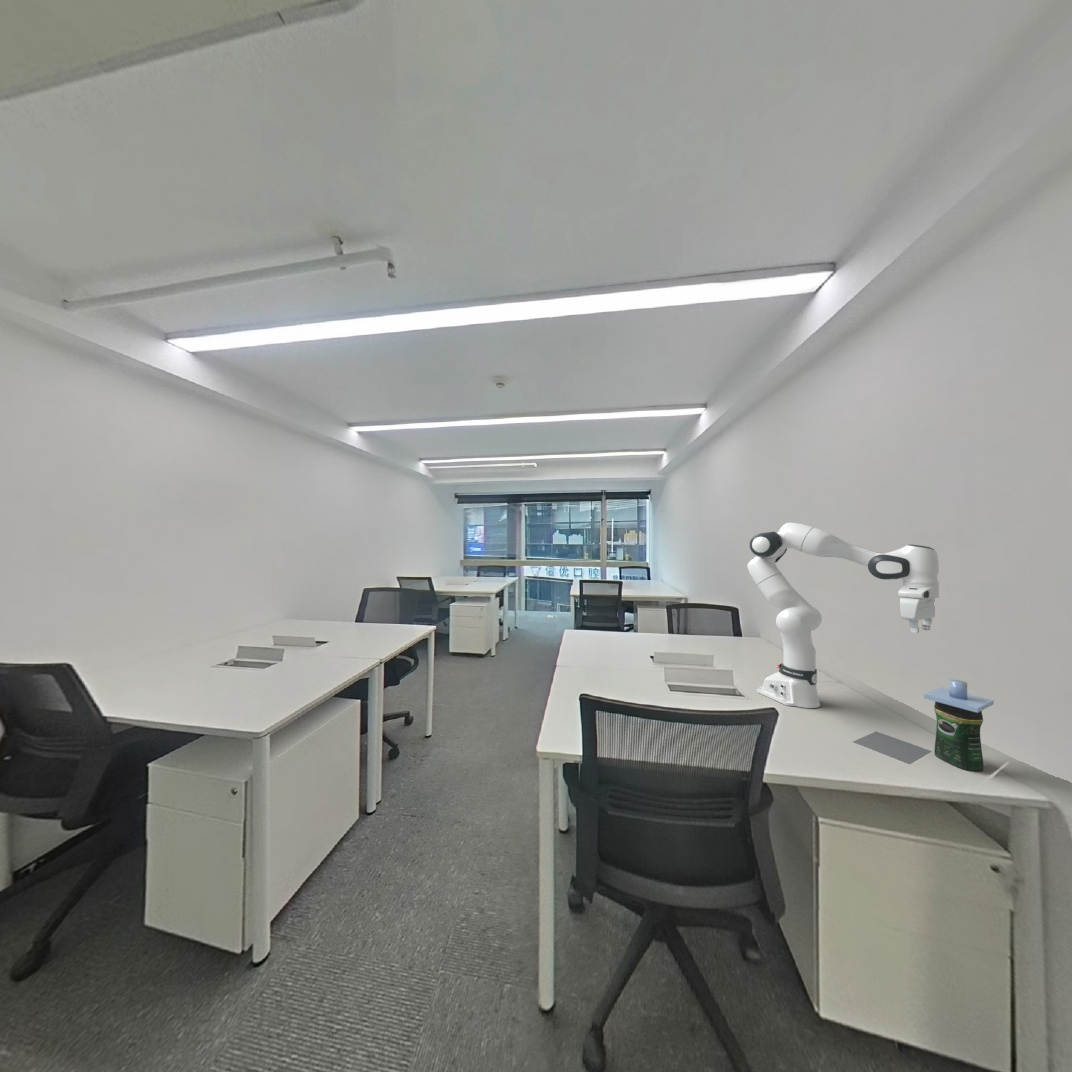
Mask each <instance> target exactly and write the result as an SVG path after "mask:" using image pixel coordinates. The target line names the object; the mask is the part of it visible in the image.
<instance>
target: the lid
mask: <svg viewBox="0 0 1072 1072" xmlns="http://www.w3.org/2000/svg"><path fill="white" fill-rule="evenodd" d="M948 682H949V685H948V686H949V687H948V688H945V687H939V688H936V689H934V690H931V691H928V692H926V693H924V694H923V699H924V700H925V699H926V700H930V701H933V702H935V701H936V702H940V703H943V704H947V705H951V706H954V707H958V708H962V709H965V710H969V711H973V712H977V713H978V712H980V711H982V712H983V711H984V710H986V709H988V708H990V707H992V706H993V705H994V704H995V703H994V702H995V699H990V698H986V697H982V696H978V695H973V694H969V693H968V682H965V681H963V680H960V679H959V680H958V679H949V681H948Z"/></svg>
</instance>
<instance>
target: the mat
mask: <svg viewBox="0 0 1072 1072" xmlns="http://www.w3.org/2000/svg"><path fill="white" fill-rule="evenodd" d="M852 743H855V744H857V745H860V746H862V747H864V748H866V749H870V750H872V751H875V752H876V753H879V754H882V755H885V756H886V757H889V758H893V759H895V760H897V761H901V762H902V763H905V764H908V765H911V764H913V763H914V762H916V761H918V760H920V759H921V758H923V757H925V756H926V755H928V754H930V753H931V752H932V750H929V749H926V748H924V747H922V746H919V745H916V744H913V743H910V742H908V741H904V740H901V739H899V738H896V737H893V736H890V735H889V734H885V733H883V732H880V731H873V732H871V733H869V734H867V735H864V736H862V737H861V738H858V739H856V740H853V741H852Z"/></svg>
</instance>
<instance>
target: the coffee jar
mask: <svg viewBox="0 0 1072 1072" xmlns="http://www.w3.org/2000/svg"><path fill="white" fill-rule="evenodd" d="M933 708H934V709H933V710H934V714H935V718H936V729H935V731H936V733H935V740H934V741H935V742H934V751H933V752H934V756H936V758H938V759H939V760H941V761H943V762H945V763H947V764H948V765H950V766H953V767H955V768H957V769H960V770H963V771H968V772H982V771H983V770H984V757H983V750H982V742H981V741H982V739H981V727H982V725H983V722H984V718H983V710H982V711H980V712H978V713H977V712H973V711H969V710H965V709H962V708H958V707H954V706H951V705H947V704H943V703H940V702H936V701H934V706H933Z"/></svg>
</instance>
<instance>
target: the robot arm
mask: <svg viewBox="0 0 1072 1072" xmlns="http://www.w3.org/2000/svg"><path fill="white" fill-rule="evenodd" d="M749 549H750V552H752V554H754V557H753V558H752V559H751V560H750V561H749V562H747V565H746V566H747V567H746V568H747V571H748V572H749V575H750V577H751V579H752V580H753V582H754V583H755V585H756V587H757V588H758V589H759V590H760V592H761V594H762V595H763V596H764V597H765V599H766V600H767V601H768V602H769V604H772V605H773V606H774V607H775V608H777V609H778V610H779V611H780V612H779V613H778V614H777V616H776V618H775V624H776V627H777V628H778V630H779V633H780V637H781V641H782V642H781V643H782V653H783V655H782V657H783V658H782V661H783V662H782V663H780V664H777V665H776V668H777V669H779V670H778V671H776V672H775V673H772V674H771V675H768V676H767V677H765V678H764V680H763V684H762V686H759V687H757V689H756V692H757V693H758V694H761V695H762V696H765V697H767V698H769V699H771V700H773V701H775V702H779V703H780V704H783V705H785V706H788V707H799V708H805V709H816V708H820V707H821V702H820V699H819V695H818V688H817V683H818V670H817V667H816V664H817V663H816V660H817V659H816V658H817V657H816V656H817V655H816V652H817V651H816V648H815V647H814V643H813V638H812V632H813V631H815V630H817V629H818V628H819V627H820V625H821V623H822V620H823V618H822V617H823V616H822V614H821V612H820V611H819V609H817V608H816V607H814V606H812V604H810V603H809V602H808V600H807V599H805V598H804V597H803V596H802V595H801V594H800V593H799V592H797V590H796V589H795V588H794V587H793V586H792V585H791V584H790V582H789V581H788V580H787V578H786V577H785V576H784V574H783V573H782V572H781V570H780V569H779V568H778V567H777V565H776V563H778V562H779V561H780V559H781V558H782V557H784V555H785V554H786V553H787V551H788V549H793V550H797V551H799V552H802V553H804V554H807V555H811V556H815V557H821V558H837V559H842V560H843V559H844V560H847V561H849V562H853V563H857V564H858V565H862V566H865V567H867V570H868V571H869V573H870V574H871V575H872V576H873V577H874V578H876V579H879V580H884V581H891V580H899V579H902V586H901V588H899V589H898V590H897V591H898V592H897V596H898V597H899V598H900V599H899V609H900V610H899V611H900V616H901V619H903V620H907V621H908V625H909V627H910V629H909V632H910V633H914V634H918V633H920V628H919V621H920V620H921V621H922V620H923V621H922V625H921V630H923V631H931V625H932V622H933V618H936V617H935V606H934V602H935V598H940V593H939V592H940V583H939V582H940V581H939V580H938V574H939V571H940V565H939V557H938V553H937V550H936V549H934V548H933V547H930V546H926V545H917V544H905V546H903V547H900V548H897V549H895V550H892V551H888V552H877V551H873V550H870V549H867V548H864V547H861V546H859V545H858V546H857V545H854V544H851V543H849V542H847V541H845V540H843V539H841V538H839V537H838V536H836V535H833V534H832V533H829V532H828V531H825V530H823V529H820V528H817V527H814V526H811V525H807V524H803V523H799V522H786V523H784V524H783V525H782V526H781V527H780V528H779V529H778V531H777V532H776V531H768V532H767V531H765V532H760V533H757V534H755V535H754V536H753V537H752V538H751V539H750V541H749Z"/></svg>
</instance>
